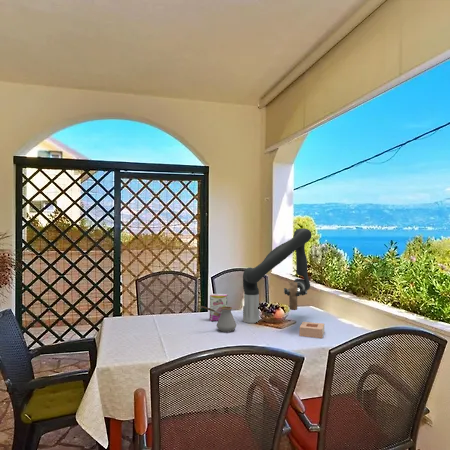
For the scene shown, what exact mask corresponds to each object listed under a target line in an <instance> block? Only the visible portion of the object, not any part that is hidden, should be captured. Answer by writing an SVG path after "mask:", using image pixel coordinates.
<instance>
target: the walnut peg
mask: <svg viewBox="0 0 450 450" xmlns="http://www.w3.org/2000/svg"><path fill="white" fill-rule="evenodd" d="M288 289H289V296H288V297H289V302H288V303H289V305H288V307H289V310H290V311H297V310H298V296H296V292H297V282H294V281H291V282H289V288H288Z"/></svg>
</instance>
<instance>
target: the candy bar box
mask: <svg viewBox="0 0 450 450" xmlns="http://www.w3.org/2000/svg"><path fill="white" fill-rule="evenodd" d="M221 307H229V293H226V294H225V293H210V294H209V308H210V309H213V310H215V311H218V312H221V313H222V309H221ZM220 315H221V314H219V313H217V312H213V311H210V310H209V322H218V320H219V318H220Z"/></svg>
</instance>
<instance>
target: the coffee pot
mask: <svg viewBox="0 0 450 450" xmlns="http://www.w3.org/2000/svg"><path fill="white" fill-rule="evenodd" d="M201 309H205V310H207V311H209V312H210V311H213V312H217V313H219V314H221V315H220V318H219V320H218V321H217V323H216V328H217V329H218V330H219V331H220V332H223V333H230V332H234V330H235V329H236V328H237V323H236V320H235V318H234V316H233V313H232V309H233V307H231V306H228V307H221V309H222V313H221V312H218V311H215V310H213V309H210V307H208V306H207V307H206V306H205V305H204V306H203V305H200V307H199V310H201Z"/></svg>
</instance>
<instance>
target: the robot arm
mask: <svg viewBox="0 0 450 450" xmlns="http://www.w3.org/2000/svg"><path fill="white" fill-rule="evenodd" d="M311 238H312V232H311V230H310V229H308V228H297V229H295V230H294V232H293V237H291V238H290V239H289V240H287V241H285V242H283V243H282V244H279V245H278V246H276V247H275V248H274V249H272V250H270V252H269V253H268V254H267V255H266V256H265V257H264V259H263V260H262V261H261V262H260V263H259V264H258V265H257V266H254V268H253V267H248V268H245V270H244V271H243V274H242V288H243V302H244V303H243V306H242V310H243V311H242V322H243V323H248V324H257V323H259V322H260V290H259V287H258V283H259V281H261V280H262V279H263V278H264V277H265V276H266V275H267V274H268V273H269V272H270V271H271V270H273V269H274V268H275V267H278V265H280V264H281V263H282V262H283V261H285V260H287V258H288V257H290V255H292V254H293V253H294V252H295V257H296V258H295V259H296V260H295V261H296V262H295V263H296V264H295V265H296V267H295V269H296V272H295V273H296V275H298V276H301V277H303V278H295V279H294V280H293V282H297V292H296V296H297V297H300V296H305V295H308V291H309V290H310V289H311V282H310V278H309V275H308V260H307V254H306V251H305V249H306V247H305V246H306V244H307V243H309V242H310V240H311ZM283 293H284V295H287V296H288V297H289V288H288V289H287V288H286V287H284V288H283ZM258 307H259V309H258ZM258 321H259V322H258ZM256 322H257V323H256Z"/></svg>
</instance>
